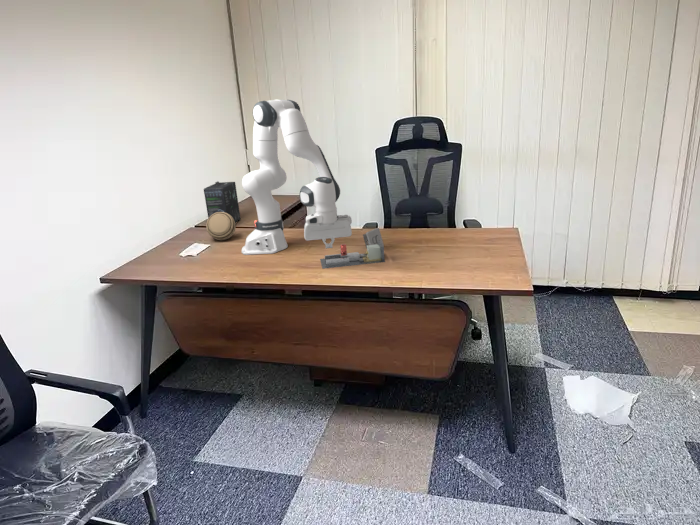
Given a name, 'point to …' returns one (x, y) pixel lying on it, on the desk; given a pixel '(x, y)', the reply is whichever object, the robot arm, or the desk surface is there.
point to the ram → (350, 254)
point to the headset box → (222, 199)
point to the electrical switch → (373, 237)
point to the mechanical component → (220, 225)
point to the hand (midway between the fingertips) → (329, 247)
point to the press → (336, 261)
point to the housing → (373, 252)
